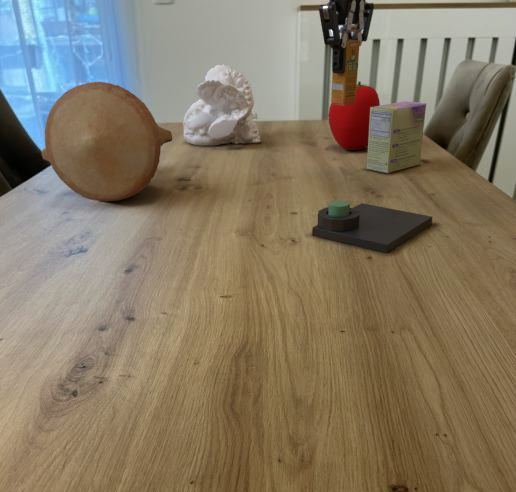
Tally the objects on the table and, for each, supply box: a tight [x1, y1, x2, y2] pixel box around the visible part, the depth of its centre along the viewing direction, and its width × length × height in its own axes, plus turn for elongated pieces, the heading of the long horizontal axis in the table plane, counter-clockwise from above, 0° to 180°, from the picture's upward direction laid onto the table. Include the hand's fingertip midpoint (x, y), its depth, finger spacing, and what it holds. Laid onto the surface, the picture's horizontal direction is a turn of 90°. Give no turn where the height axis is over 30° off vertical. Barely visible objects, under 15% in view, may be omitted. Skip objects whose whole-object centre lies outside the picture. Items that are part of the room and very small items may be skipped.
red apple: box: [328, 81, 381, 151], centre depth 124 cm, size 13×11×14 cm
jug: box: [41, 81, 173, 202], centre depth 100 cm, size 20×19×30 cm
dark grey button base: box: [311, 202, 433, 254], centre depth 80 cm, size 14×12×3 cm
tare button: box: [328, 199, 351, 217], centre depth 79 cm, size 3×3×2 cm
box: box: [366, 101, 427, 174], centre depth 109 cm, size 10×6×12 cm, turn 130°
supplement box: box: [330, 40, 360, 105], centre depth 96 cm, size 3×3×10 cm
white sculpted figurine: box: [181, 63, 262, 147], centre depth 136 cm, size 19×20×20 cm
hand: (345, 71), depth 96 cm, fingers closed on supplement box, 3 cm apart
